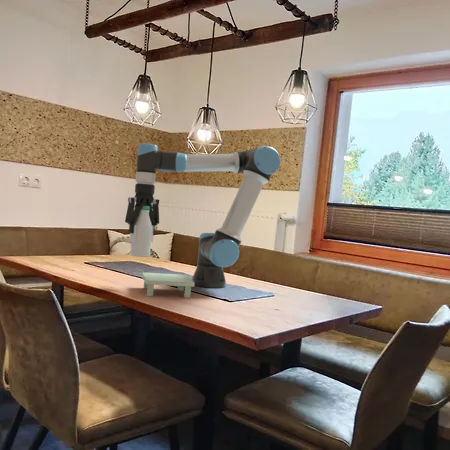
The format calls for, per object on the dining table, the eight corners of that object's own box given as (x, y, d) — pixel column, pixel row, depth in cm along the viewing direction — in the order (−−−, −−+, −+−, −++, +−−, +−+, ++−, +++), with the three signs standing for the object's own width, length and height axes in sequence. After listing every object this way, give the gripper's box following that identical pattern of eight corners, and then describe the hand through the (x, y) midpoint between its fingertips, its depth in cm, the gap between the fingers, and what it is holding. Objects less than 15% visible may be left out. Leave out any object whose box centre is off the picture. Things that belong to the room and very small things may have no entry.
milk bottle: (151, 257, 185) (155, 206, 184) (131, 256, 182) (136, 205, 181) (147, 255, 192) (151, 206, 191) (128, 254, 189) (132, 204, 188)
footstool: (184, 289, 195) (186, 274, 195) (193, 298, 177) (194, 282, 177) (140, 287, 190) (142, 272, 190) (144, 296, 173) (146, 280, 172)
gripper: (159, 185, 196) (155, 240, 197) (117, 181, 180) (113, 240, 182) (171, 186, 191) (167, 242, 192) (129, 181, 175) (125, 242, 176)
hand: (141, 241), depth 187 cm, fingers closed on milk bottle, 8 cm apart
